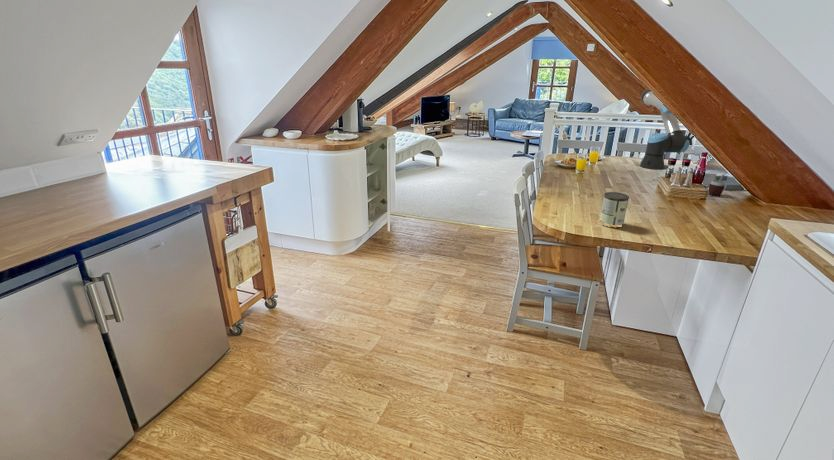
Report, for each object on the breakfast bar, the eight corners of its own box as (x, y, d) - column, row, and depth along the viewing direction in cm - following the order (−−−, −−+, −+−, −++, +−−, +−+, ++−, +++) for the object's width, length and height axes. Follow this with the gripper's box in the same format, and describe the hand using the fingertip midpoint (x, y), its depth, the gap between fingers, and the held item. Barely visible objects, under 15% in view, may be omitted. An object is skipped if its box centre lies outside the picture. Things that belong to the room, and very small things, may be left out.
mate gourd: (710, 192, 237) (717, 167, 231) (725, 196, 231) (733, 170, 225) (703, 194, 233) (711, 169, 228) (719, 198, 227) (727, 172, 221)
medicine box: (708, 185, 251) (712, 171, 247) (713, 187, 246) (717, 173, 243) (695, 185, 251) (699, 171, 248) (699, 187, 247) (703, 173, 244)
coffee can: (604, 218, 198) (609, 190, 192) (626, 224, 191) (632, 195, 185) (595, 224, 191) (600, 195, 185) (617, 230, 184) (623, 200, 179)
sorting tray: (702, 181, 260) (703, 175, 259) (725, 181, 260) (727, 175, 259) (724, 190, 242) (726, 184, 240) (749, 190, 242) (751, 184, 241)
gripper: (681, 116, 261) (683, 149, 259) (729, 111, 251) (732, 145, 249) (679, 120, 268) (681, 152, 265) (726, 115, 258) (728, 148, 256)
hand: (705, 149), depth 257 cm, fingers open, 13 cm apart
